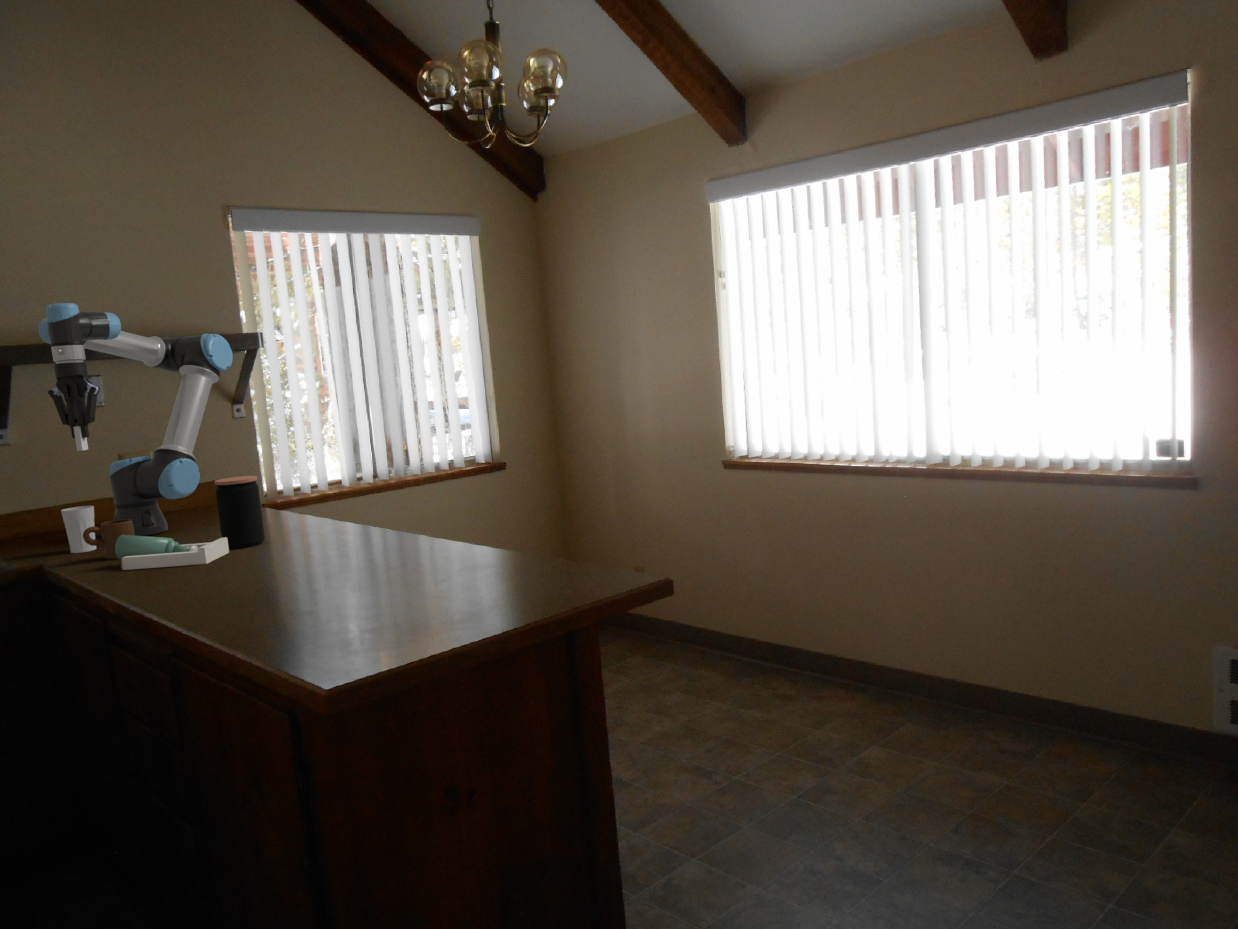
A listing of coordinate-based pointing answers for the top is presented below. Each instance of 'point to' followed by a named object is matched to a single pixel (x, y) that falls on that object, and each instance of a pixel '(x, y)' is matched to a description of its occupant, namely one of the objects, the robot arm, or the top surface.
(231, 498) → the coffee jar
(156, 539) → the bottle
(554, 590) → the top surface
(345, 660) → the top surface
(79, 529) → the cup
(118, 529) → the mug
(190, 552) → the rest
